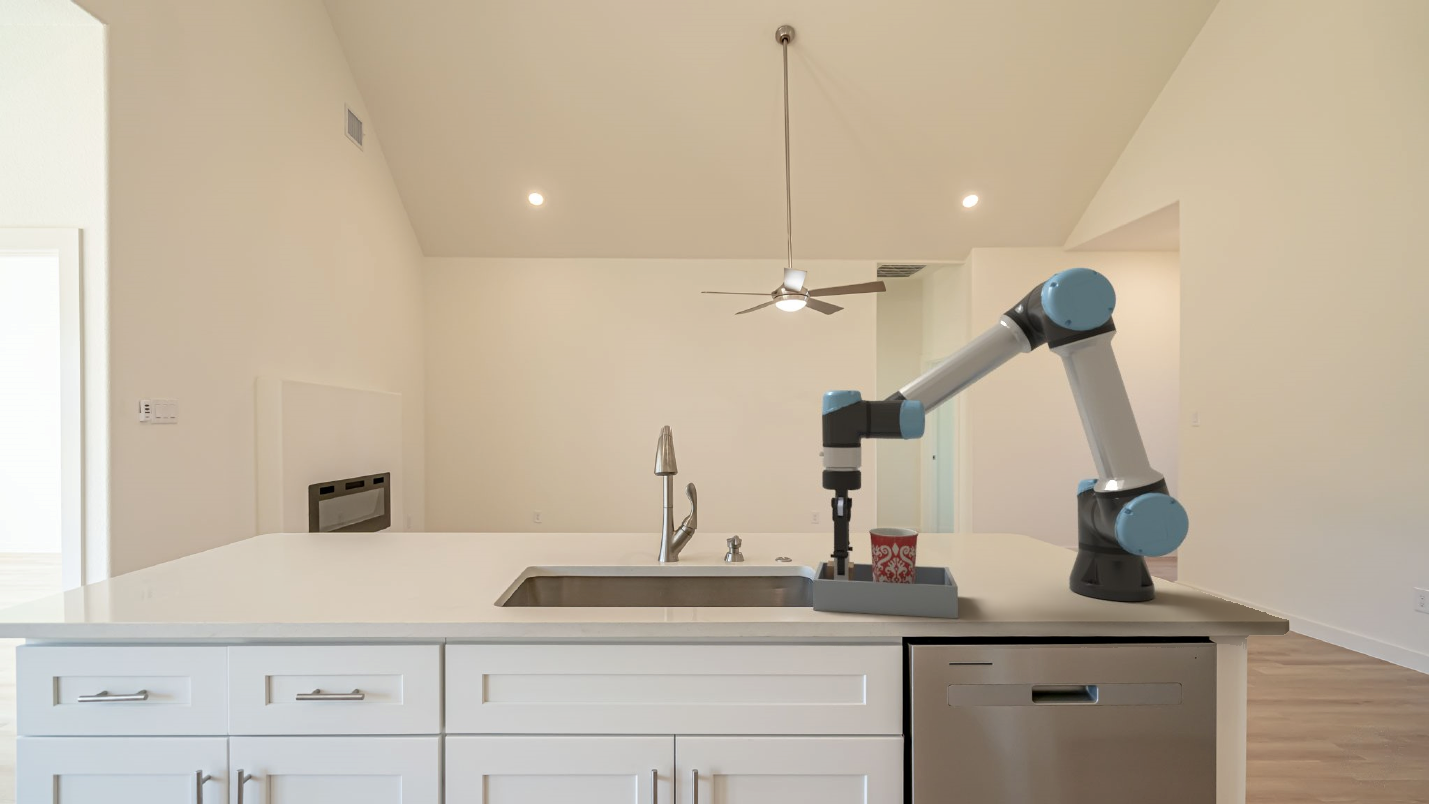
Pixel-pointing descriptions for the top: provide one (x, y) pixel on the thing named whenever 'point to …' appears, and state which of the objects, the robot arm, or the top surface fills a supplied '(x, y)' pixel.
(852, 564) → the cube
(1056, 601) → the top surface
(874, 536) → the mug
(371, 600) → the top surface
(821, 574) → the tote
